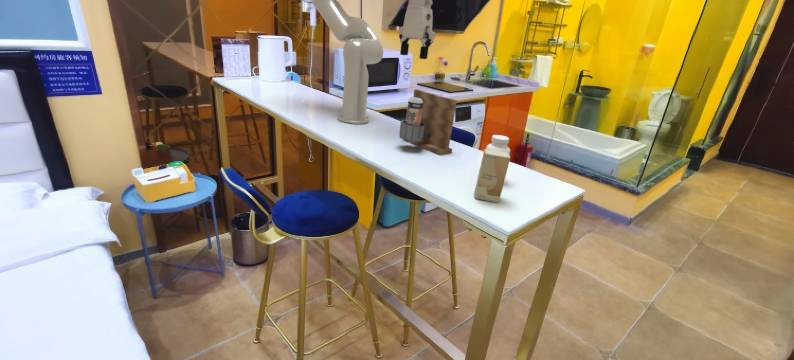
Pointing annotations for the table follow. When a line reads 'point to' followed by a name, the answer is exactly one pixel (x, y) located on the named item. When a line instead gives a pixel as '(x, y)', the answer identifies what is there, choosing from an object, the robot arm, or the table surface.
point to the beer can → (414, 111)
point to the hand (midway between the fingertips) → (413, 56)
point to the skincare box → (491, 175)
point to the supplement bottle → (499, 143)
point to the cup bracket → (431, 124)
